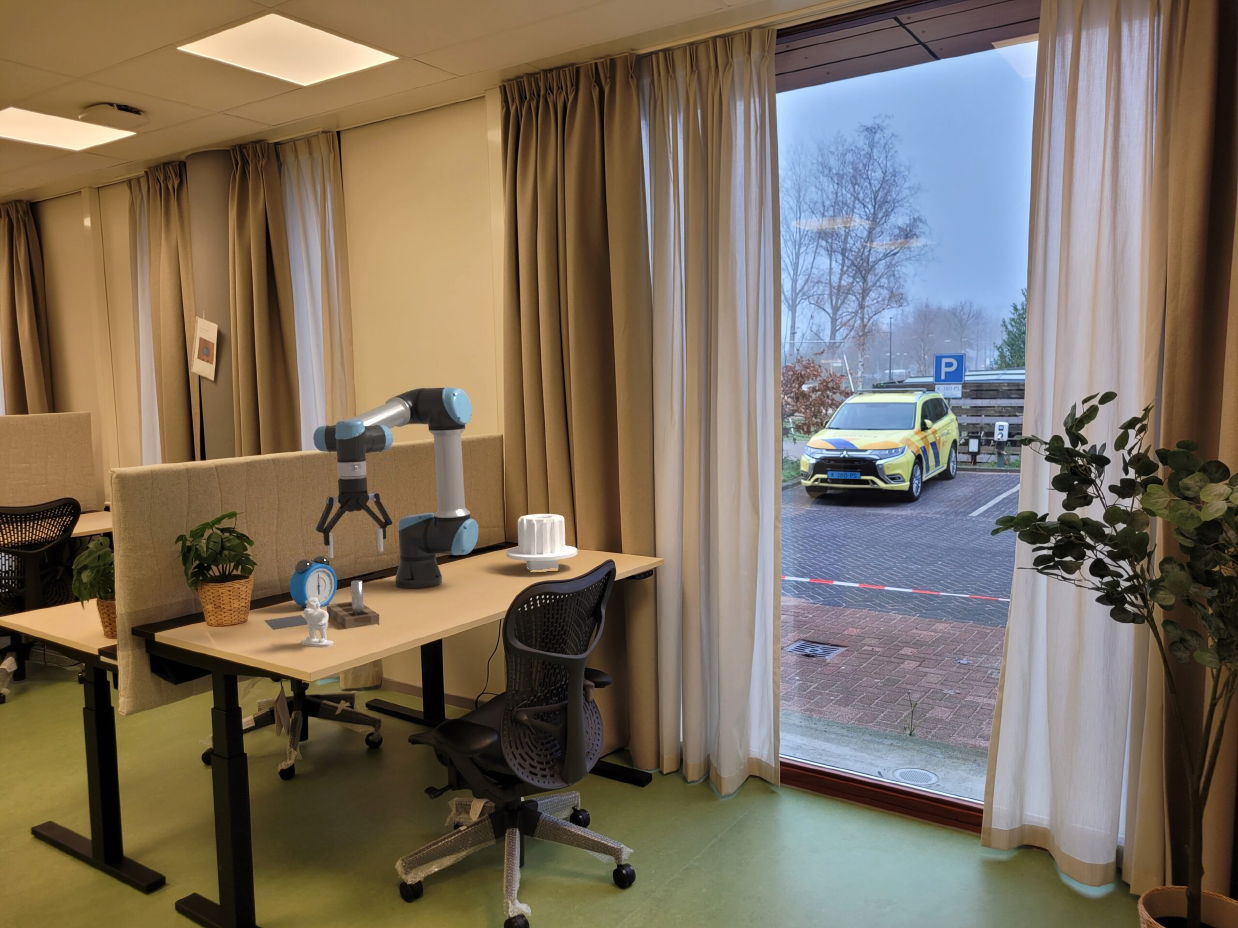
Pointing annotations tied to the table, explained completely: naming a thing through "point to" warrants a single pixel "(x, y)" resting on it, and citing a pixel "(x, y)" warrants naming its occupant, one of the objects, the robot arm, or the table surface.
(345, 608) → the hole block
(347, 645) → the table surface
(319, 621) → the figurine
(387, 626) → the table surface
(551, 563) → the flanged gear
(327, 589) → the alarm clock
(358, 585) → the pin
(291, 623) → the mat
